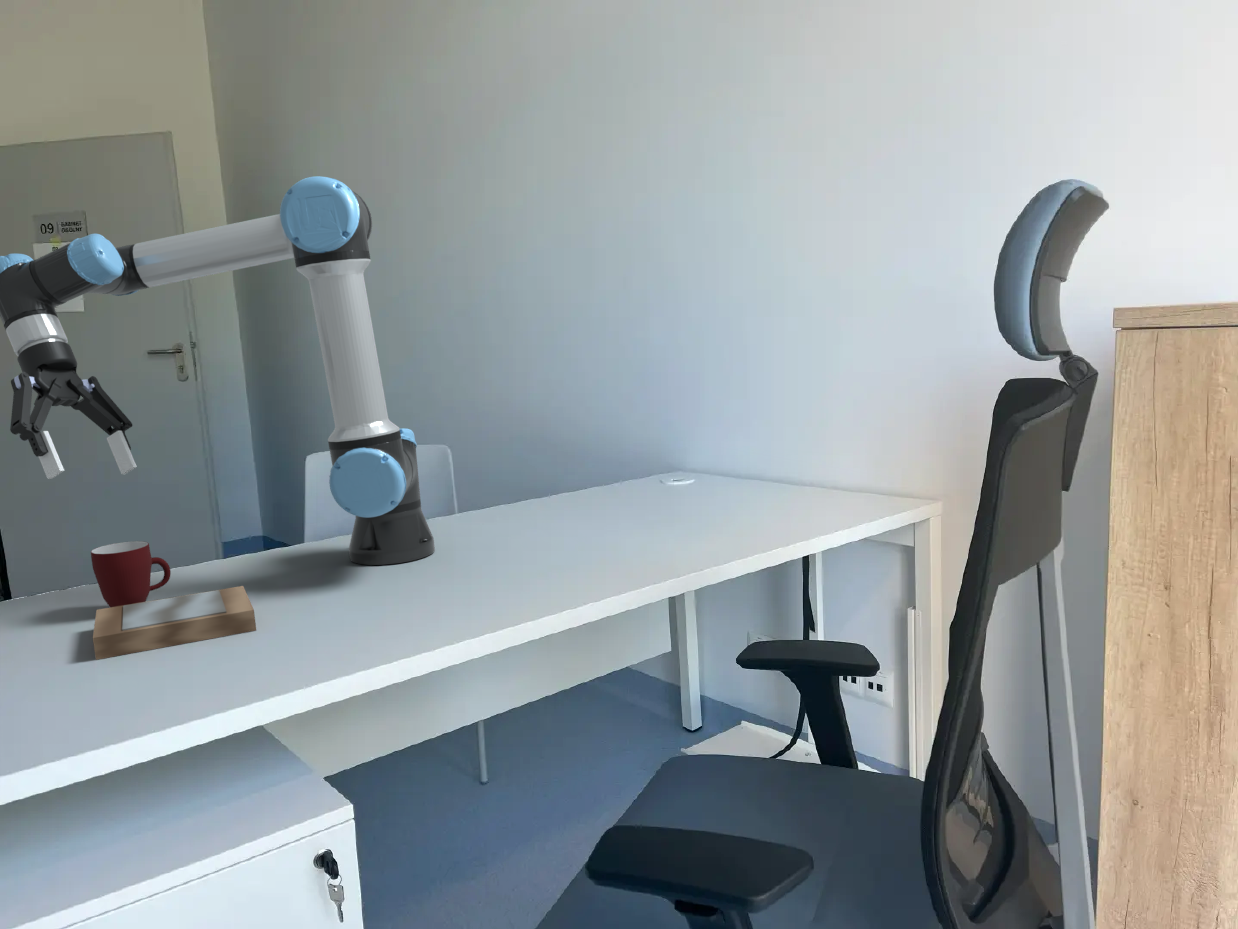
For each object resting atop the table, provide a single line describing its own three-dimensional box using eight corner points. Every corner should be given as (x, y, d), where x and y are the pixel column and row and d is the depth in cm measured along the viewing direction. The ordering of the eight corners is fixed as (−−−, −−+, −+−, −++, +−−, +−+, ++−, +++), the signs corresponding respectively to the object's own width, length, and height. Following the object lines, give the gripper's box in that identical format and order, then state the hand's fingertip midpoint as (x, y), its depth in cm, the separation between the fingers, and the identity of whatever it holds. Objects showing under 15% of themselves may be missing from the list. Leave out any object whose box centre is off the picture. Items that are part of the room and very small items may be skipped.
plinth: (245, 604, 149) (242, 584, 149) (256, 630, 136) (253, 608, 135) (99, 629, 140) (96, 608, 140) (95, 659, 127) (92, 636, 127)
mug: (164, 595, 157) (156, 535, 155) (181, 604, 151) (173, 542, 149) (93, 611, 150) (84, 549, 149) (107, 621, 144) (98, 556, 143)
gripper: (92, 366, 163) (140, 479, 161) (-51, 356, 139) (3, 488, 137) (123, 345, 161) (172, 459, 159) (-16, 331, 137) (39, 465, 135)
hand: (94, 472), depth 148 cm, fingers open, 13 cm apart
